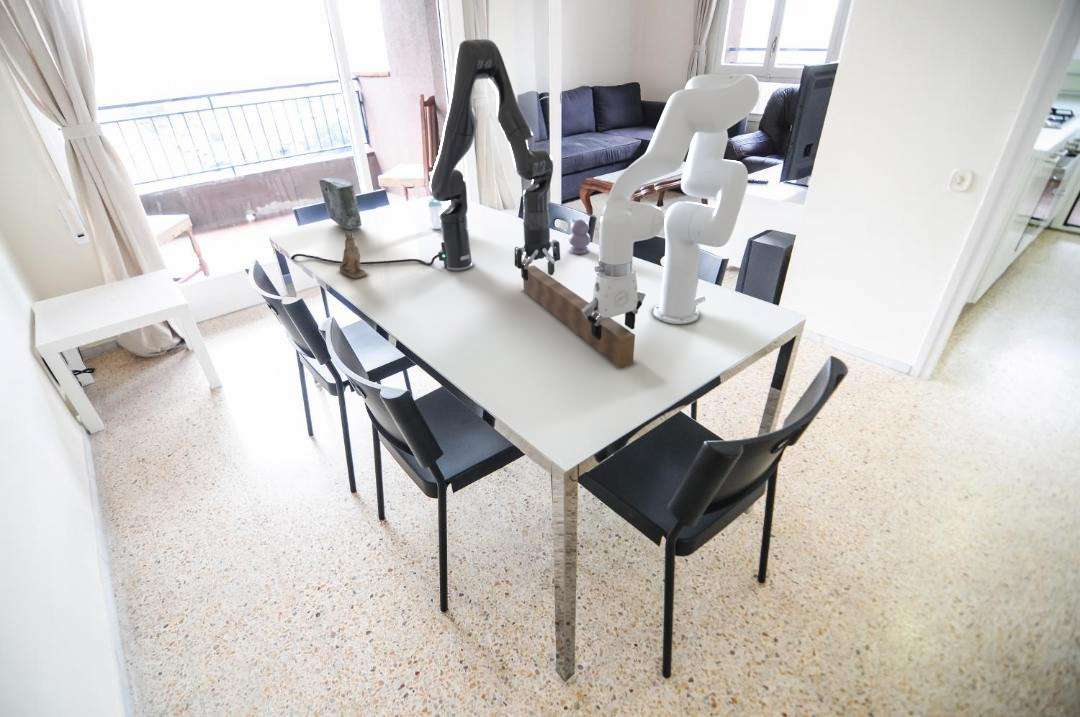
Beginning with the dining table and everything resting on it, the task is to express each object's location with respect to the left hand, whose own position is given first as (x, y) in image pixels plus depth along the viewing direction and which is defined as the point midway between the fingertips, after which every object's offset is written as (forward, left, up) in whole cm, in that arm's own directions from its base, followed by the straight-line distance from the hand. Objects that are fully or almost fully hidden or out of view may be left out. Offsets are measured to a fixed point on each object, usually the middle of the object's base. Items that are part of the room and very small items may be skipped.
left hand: (538, 277), depth 152 cm
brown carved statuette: (-71, +7, -7) cm, 72 cm away
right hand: (+27, -29, -1) cm, 40 cm away
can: (-64, +64, -7) cm, 91 cm away
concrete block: (-108, +59, -7) cm, 123 cm away
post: (+13, -15, -7) cm, 21 cm away
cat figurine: (+4, +44, -7) cm, 44 cm away
